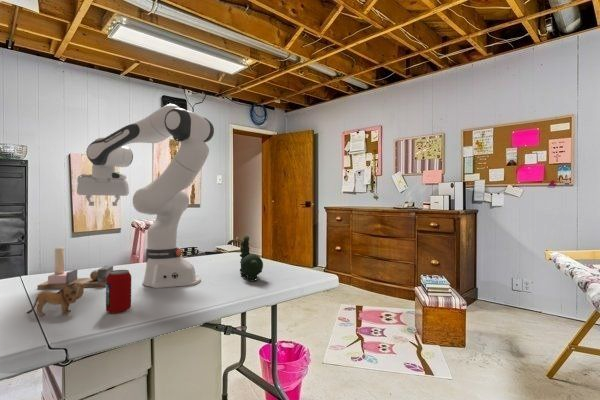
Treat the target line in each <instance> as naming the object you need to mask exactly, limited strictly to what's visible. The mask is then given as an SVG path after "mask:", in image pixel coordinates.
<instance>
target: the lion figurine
mask: <svg viewBox="0 0 600 400" xmlns="http://www.w3.org/2000/svg"><path fill="white" fill-rule="evenodd" d="M84 293H85V287H84V288H83V284H81V283H80V282H75V283H72V284H71V285H69V286H68V287H65V288H60V289H59V291H50V290H43V291H40V292H39V293H38V294H37V295H36V298H35V300H34V303H33V307H31V309H29V310H28V311H27V312H25V313H26V315H27V314H31V313H32V312H33V311H34V309H35V308H36V310H35V311H36V313H37V314H39V316H40V317H45V316H46V313H45V312H43V308H44V306H45V305H46V304H48V303H49V304H50V305H53V306H58V305H61V313H62V315H63V316H68V315H69V313H71V309H69V307H70V305H72V304H75V303H76V302H77V300H79V299H81V298H82V297H83V295H84Z"/></svg>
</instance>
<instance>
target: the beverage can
mask: <svg viewBox="0 0 600 400" xmlns="http://www.w3.org/2000/svg"><path fill="white" fill-rule="evenodd" d="M131 307H132V274H131V273H130V271H129V269H115V270H114V269H113V271H110V272H109V274H108V276H107V278H106V287H105V312H108V313H109V314H114V315H115V314H122V313H125V312H127V311H128V310H130V309H131Z"/></svg>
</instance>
